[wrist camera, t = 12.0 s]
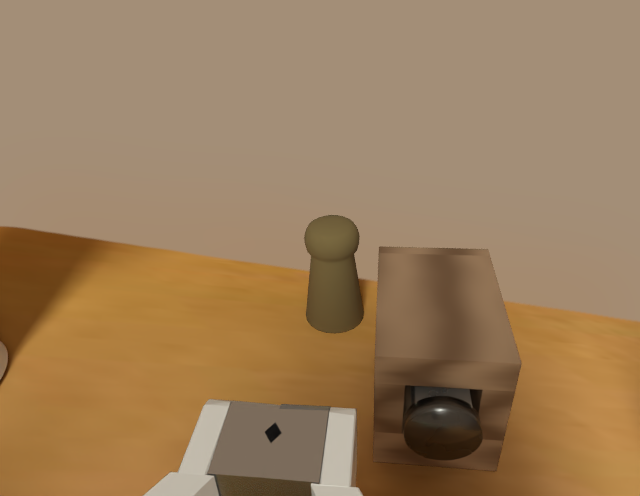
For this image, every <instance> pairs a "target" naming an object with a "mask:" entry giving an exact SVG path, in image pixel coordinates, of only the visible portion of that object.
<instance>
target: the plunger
mask: <svg viewBox="0 0 640 496" xmlns="http://www.w3.org/2000/svg"><path fill="white" fill-rule="evenodd" d="M404 439H405V442H406V444H407V445H408V447H409V448H410V449H411V450H412V451H414V452H415V453H417V454H418V455H420V456H423V457H425V458H429V459H433V460H444V461H446V460H455V459H460V458H463V457H466V456H468V455H470V454H472V453H473V452H474V451H476V450H477V449H478V447H479V446H480V445H481V443H482V439H483V434H482V428H481V422H480V417H479V414H478V412H477V411H476V409H475V408H474V407H473V406H472V402H471V396H470V390H469V389H463V388H445V387H428V386H411V406H410V407H409V408H408V409H407V411H406V412H405V415H404Z"/></svg>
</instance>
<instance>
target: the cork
mask: <svg viewBox="0 0 640 496" xmlns="http://www.w3.org/2000/svg"><path fill="white" fill-rule="evenodd" d="M304 238H305V245H306V248H307V251H308V252H309V254H310V255H311V264H310V275H309V287H308V298H307V310H306V317H307V321H308V322H309V323H310V325H311V326H312V327H314V328H316V329H317V330H319V331H323V332H326V333H341V332H346V331H349V330H351V329H353V328H355V327H356V326H357V325H359V324H360V322H361V321H362V319H363V314H364V311H363V305H362V299H361V293H360V287H359V281H358V275H357V270H356V263H355V258H354V253H355V252H356V251H357V248H358V245H359V232H358V229H357V227H356V225H355V224H354V223H353V222H352V221H351V220H350V219H348V218H345V217H343V216H338V215H328V216H323V217H319V218H317V219H315V220H313V221H312V222H311V223H310V224H309V226H308V227H307V229H306V232H305V237H304Z"/></svg>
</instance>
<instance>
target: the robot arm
mask: <svg viewBox="0 0 640 496" xmlns="http://www.w3.org/2000/svg"><path fill="white" fill-rule="evenodd" d="M7 362H8V353H7V349H6V347H5V345H4V344H3V343H2V342H1V341H0V379H1V378H2V376H3V374H4V372H5V369H6V366H7ZM356 475H357V410H356V409H353V408H336V407H329V406H309V405H289V404H281V405H274V404H263V403H252V402H241V401H229V400H216V399H209V400H208V401H207V402H206V404H205V405H204V406H203V409H202V411H201V414H200V416H199V419H198V421H197V424H196V427H195V429H194V432H193V434H192V437H191V439H190V442H189V445H188V447H187V450H186V452H185V455H184V457H183V460H182V463H181V465H180V468H179V470H178V472H170V473H169V474H167V475H166V476H165V477H164V478H163V479H162V480H160V481H159V482H158V483H157V484H156V485H155V486H154V487H152V488H151V489H150V490H149V491H148V492H147V493H145V494H144V495H143V496H363V494H362V493H361V491H360V489H359V488H358V487H356Z"/></svg>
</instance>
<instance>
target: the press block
mask: <svg viewBox="0 0 640 496" xmlns="http://www.w3.org/2000/svg"><path fill="white" fill-rule="evenodd" d="M520 368H521V360H520V357H519V353H518V350H517V346H516V343H515V340H514V336H513V333H512V329H511V326H510V323H509V319H508V316H507V312H506V309H505V305H504V302H503V299H502V295H501V292H500V289H499V285H498V282H497V278H496V275H495V271H494V268H493V264H492V261H491V258H490V254H489V251H488V249H453V248H413V247H379V262H378V288H377V315H376V341H375V382H374V441H373V462H384V463H397V464H410V465H423V466H436V467H449V468H462V469H475V470H488V471H496V470H497V466H498V462H499V457H500V453H501V449H502V445H503V440H504V436H505V432H506V428H507V423H508V419H509V415H510V411H511V406H512V402H513V398H514V394H515V389H516V385H517V381H518V377H519V372H520ZM411 386H428V387H445V388H463V389H469V390H470V396H471V402H472V406H473V407H474V408H475V409H476V411H477V412H478V414H479V417H480V422H481V428H482V434H483V439H482V443H481V445H480V446H479V447H478V449H477V450H476V451H474V452H473V453H472V454H470V455H468V456H466V457H463V458H460V459H455V460H446V461H444V460H433V459H429V458H425V457H423V456H420V455H418V454H417V453H415V452H414V451H412V450H411V449H410V448H409V447H408V445H407V444H406V442H405V439H404V415H405V412H406V411H407V409H408V408H409V407H410V406H411Z"/></svg>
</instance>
